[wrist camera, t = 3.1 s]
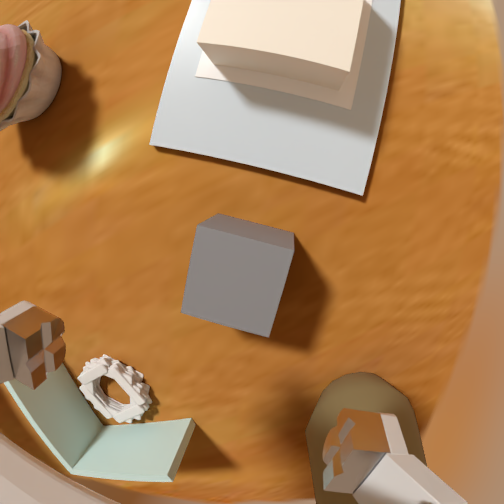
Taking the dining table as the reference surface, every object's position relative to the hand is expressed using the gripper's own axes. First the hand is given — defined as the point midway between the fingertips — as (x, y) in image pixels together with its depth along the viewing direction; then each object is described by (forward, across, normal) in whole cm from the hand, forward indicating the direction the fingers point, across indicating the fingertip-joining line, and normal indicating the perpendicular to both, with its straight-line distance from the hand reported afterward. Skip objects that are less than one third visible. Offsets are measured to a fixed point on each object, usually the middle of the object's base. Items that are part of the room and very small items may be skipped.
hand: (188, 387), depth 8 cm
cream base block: (+13, -1, +16) cm, 21 cm away
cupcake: (+14, -21, +10) cm, 27 cm away
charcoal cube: (+14, 0, 0) cm, 14 cm away
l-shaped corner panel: (+14, -10, -15) cm, 23 cm away
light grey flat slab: (+14, -1, +15) cm, 20 cm away
